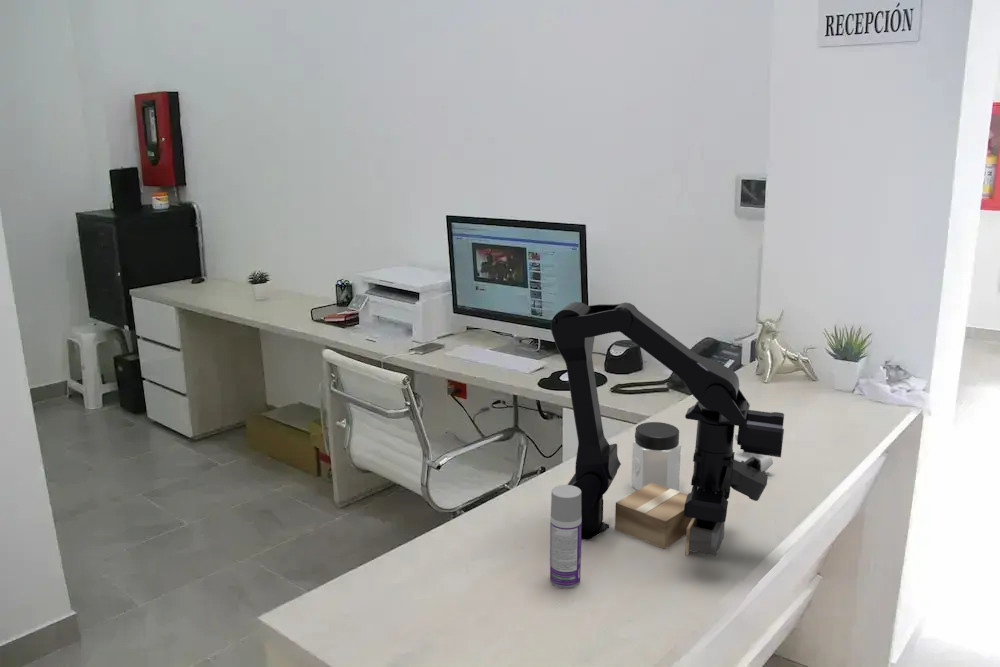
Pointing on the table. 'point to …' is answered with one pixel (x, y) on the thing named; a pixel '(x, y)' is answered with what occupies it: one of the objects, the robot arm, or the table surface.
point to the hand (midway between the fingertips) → (706, 535)
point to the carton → (653, 515)
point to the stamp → (744, 456)
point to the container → (565, 536)
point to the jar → (656, 455)
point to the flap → (704, 538)
